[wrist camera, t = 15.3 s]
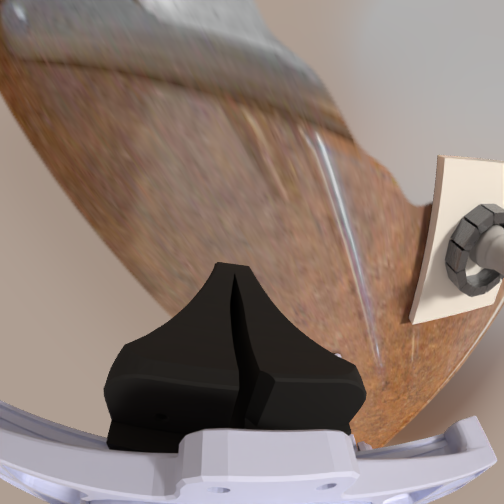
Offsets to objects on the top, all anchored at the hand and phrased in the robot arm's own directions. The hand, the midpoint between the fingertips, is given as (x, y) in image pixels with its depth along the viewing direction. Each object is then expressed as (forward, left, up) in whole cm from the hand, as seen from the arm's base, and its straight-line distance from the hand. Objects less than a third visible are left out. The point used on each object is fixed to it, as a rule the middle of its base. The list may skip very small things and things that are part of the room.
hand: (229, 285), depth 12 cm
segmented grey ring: (-5, -22, -10) cm, 25 cm away
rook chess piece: (-4, -22, -9) cm, 24 cm away
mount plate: (-5, -22, -10) cm, 25 cm away
